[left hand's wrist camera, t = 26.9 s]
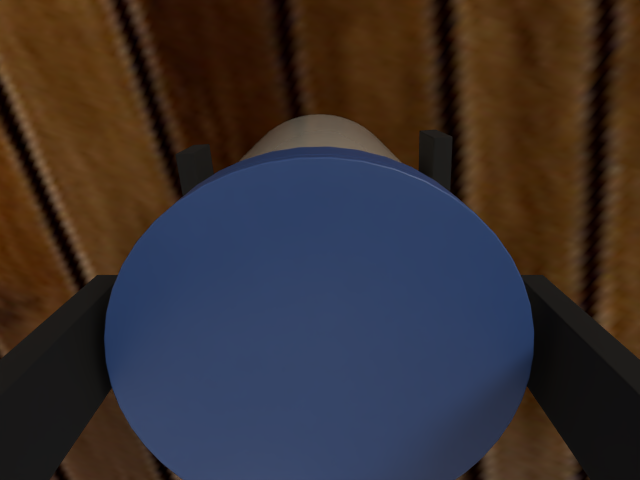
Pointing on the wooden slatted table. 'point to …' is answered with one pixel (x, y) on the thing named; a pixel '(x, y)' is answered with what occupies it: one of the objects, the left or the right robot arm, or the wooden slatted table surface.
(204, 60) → the wooden slatted table surface
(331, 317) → the lid
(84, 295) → the left robot arm
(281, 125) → the jar
